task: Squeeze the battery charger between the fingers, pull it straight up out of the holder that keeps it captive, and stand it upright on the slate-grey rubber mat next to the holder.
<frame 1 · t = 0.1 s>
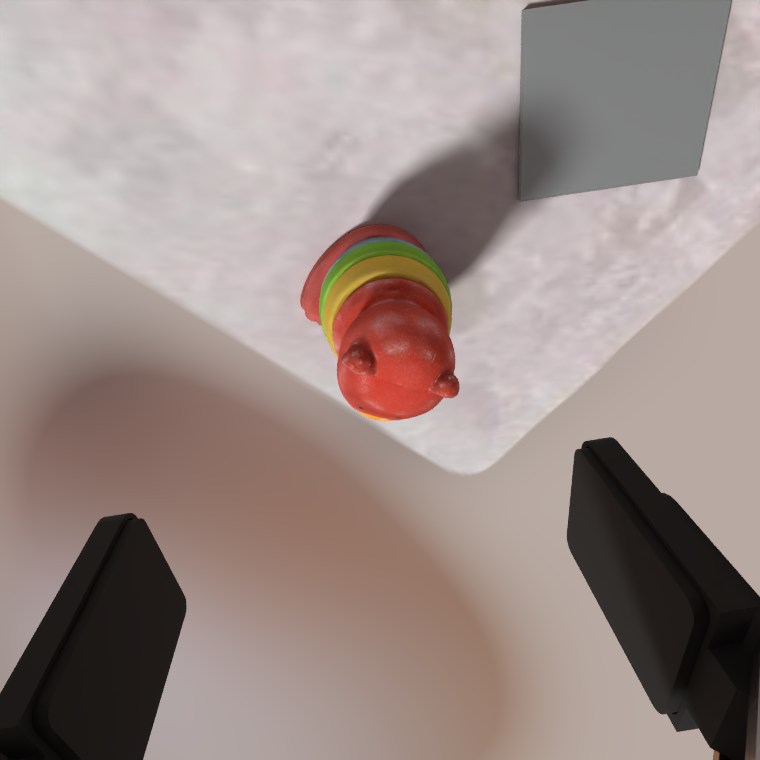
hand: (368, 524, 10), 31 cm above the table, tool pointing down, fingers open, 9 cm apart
stacking bear: (375, 282, 40), on the table
mat: (614, 99, 35), on the table
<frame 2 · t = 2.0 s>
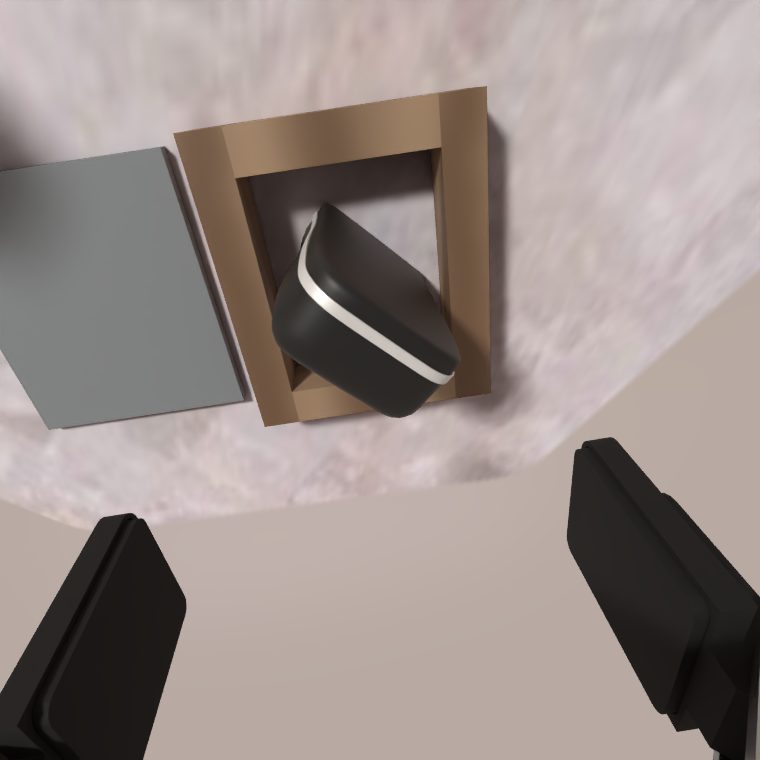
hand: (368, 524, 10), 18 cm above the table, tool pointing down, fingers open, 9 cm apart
battery charger: (355, 264, 26), resting in holder
holder: (355, 266, 26), on the table
mat: (101, 304, 26), on the table
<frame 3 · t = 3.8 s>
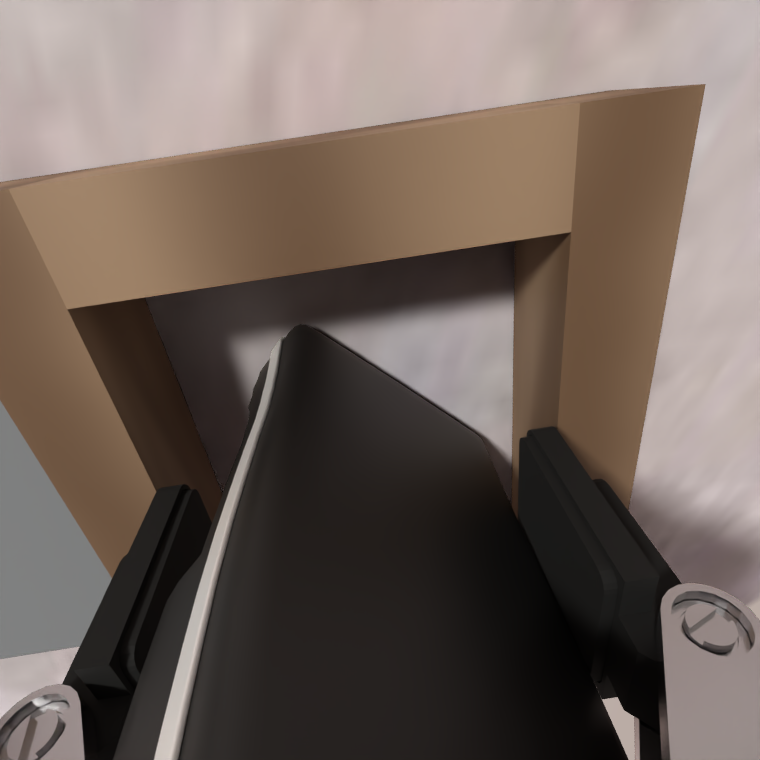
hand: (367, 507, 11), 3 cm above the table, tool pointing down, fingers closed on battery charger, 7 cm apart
battery charger: (358, 420, 14), resting in holder, touching gripper
holder: (359, 425, 14), on the table
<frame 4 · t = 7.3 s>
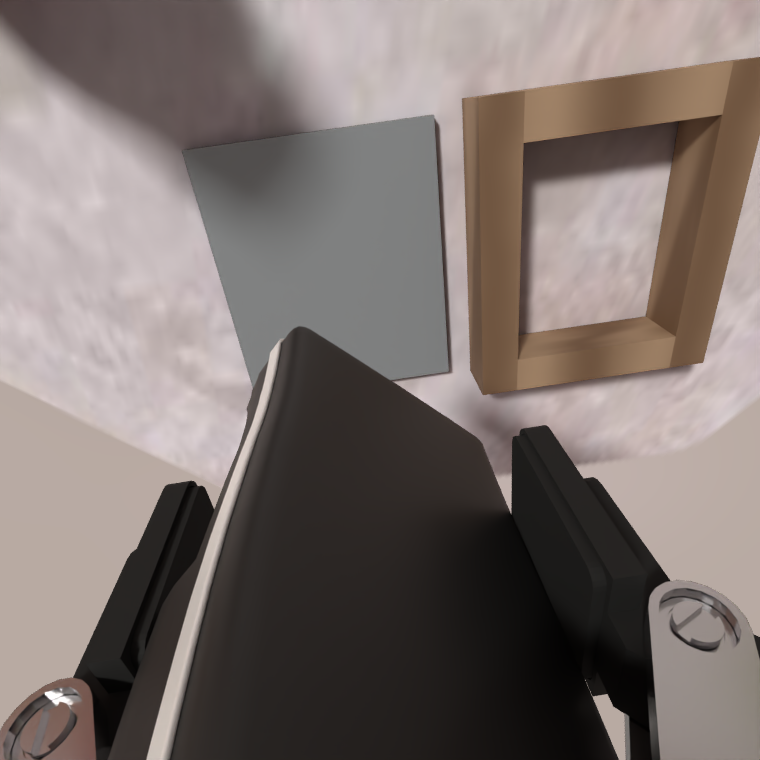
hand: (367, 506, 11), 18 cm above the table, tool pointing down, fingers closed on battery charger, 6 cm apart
battery charger: (357, 422, 14), point 15 cm above the table, touching gripper
holder: (581, 237, 27), on the table
mat: (333, 272, 27), on the table
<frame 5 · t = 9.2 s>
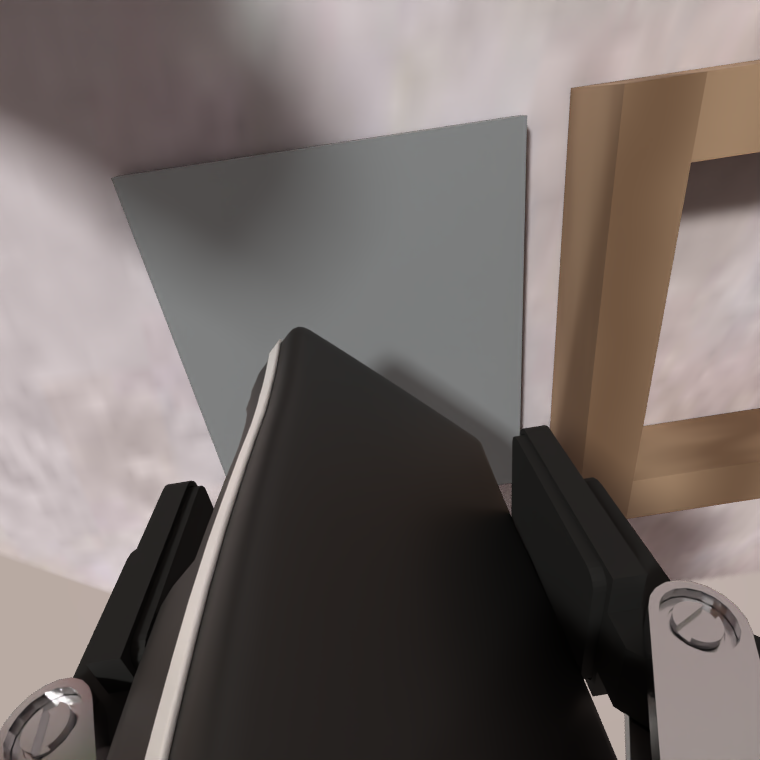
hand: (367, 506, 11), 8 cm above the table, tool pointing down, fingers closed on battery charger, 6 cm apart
battery charger: (357, 422, 14), point 4 cm above the table, touching gripper
holder: (729, 296, 18), on the table
mat: (356, 353, 18), on the table
when the fingers open (5 cm above the table, at t = 10.8 s): battery charger stays where it is, resting on mat.
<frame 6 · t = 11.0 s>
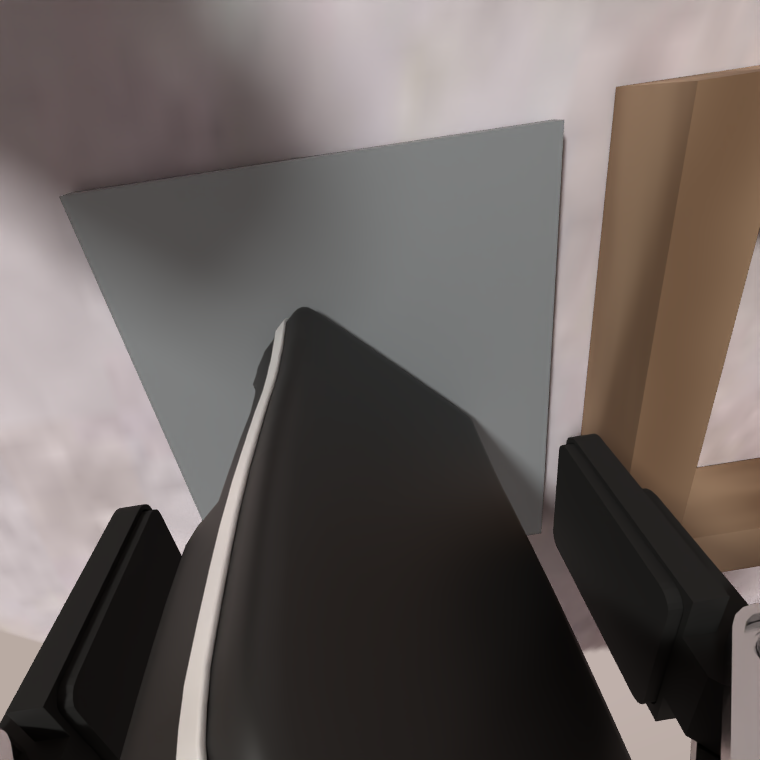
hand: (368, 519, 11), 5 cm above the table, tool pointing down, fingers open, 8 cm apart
battery charger: (355, 400, 15), resting on mat
mat: (357, 395, 15), on the table
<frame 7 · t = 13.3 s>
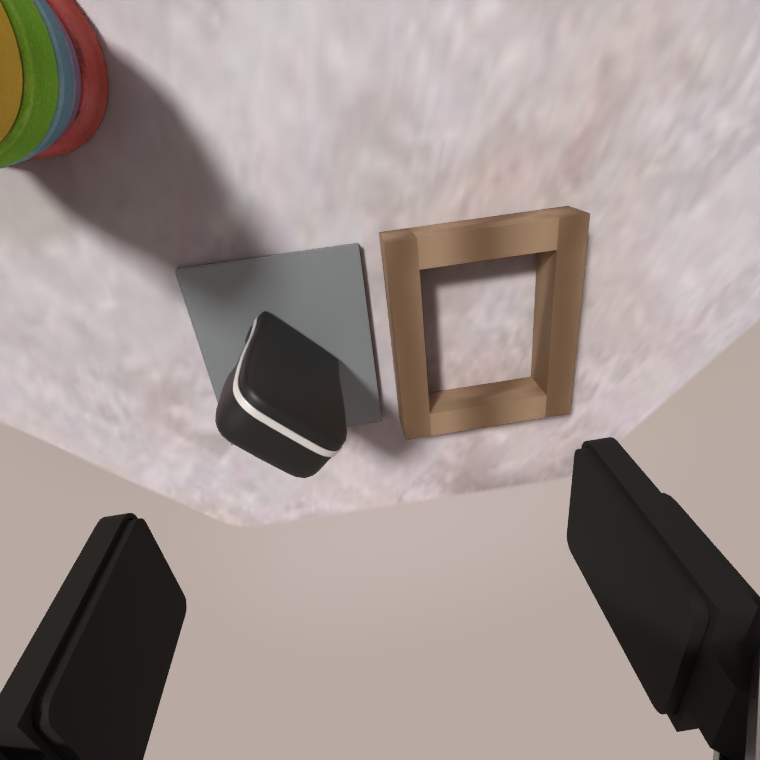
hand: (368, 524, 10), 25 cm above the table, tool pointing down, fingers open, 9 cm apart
stacking bear: (13, 60, 26), on the table
battery charger: (288, 351, 35), resting on mat
holder: (475, 322, 36), on the table
mat: (289, 350, 35), on the table
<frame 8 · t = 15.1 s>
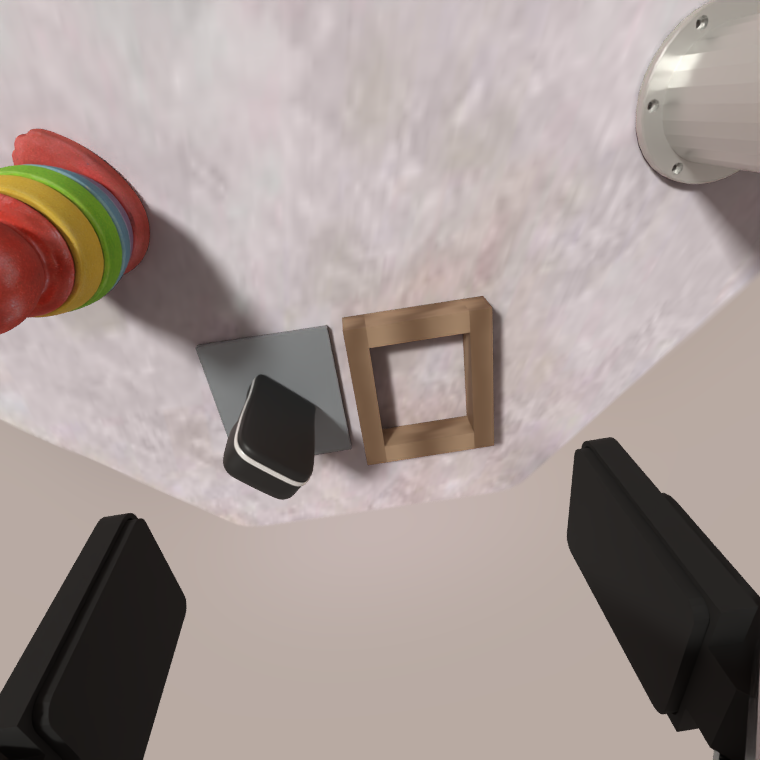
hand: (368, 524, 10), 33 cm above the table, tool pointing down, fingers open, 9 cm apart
stacking bear: (87, 218, 38), on the table
battery charger: (278, 400, 47), resting on mat
holder: (419, 377, 47), on the table
mat: (280, 399, 47), on the table
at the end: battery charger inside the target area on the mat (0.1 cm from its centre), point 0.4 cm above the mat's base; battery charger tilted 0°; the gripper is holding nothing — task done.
